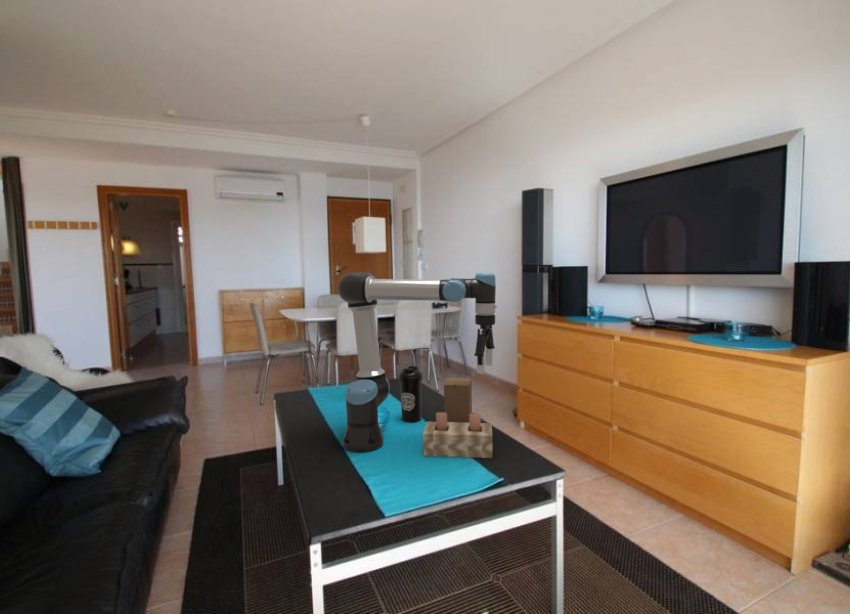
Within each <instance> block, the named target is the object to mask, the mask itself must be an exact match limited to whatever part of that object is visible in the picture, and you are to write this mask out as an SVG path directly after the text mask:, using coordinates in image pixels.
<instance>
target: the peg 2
mask: <svg viewBox="0 0 850 614" xmlns="http://www.w3.org/2000/svg"><path fill="white" fill-rule="evenodd" d="M481 420H482V419H481V413H478V412H472V413H471V414H469V431H476V432H481V423H482V421H481Z"/></svg>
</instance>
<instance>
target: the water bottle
mask: <svg viewBox="0 0 850 614" xmlns="http://www.w3.org/2000/svg"><path fill="white" fill-rule="evenodd" d="M398 379H399V388H400V389H399V391H400V393H399V394H400V408H401V409H400V410H401V421H402V420H403V421H402V422H404V421H405V422H404V423H407V422H409V423H408V424H414V423H413V422H415V423H418V421H419V422H421V420H422V395H423V394H422V387H423V386H422V381H423V373H422V372H421V371H420V370H419V367H418V366H416V365H415V366H413V365H409V366H408V367H407V368H402V370H401V371H400V373H399V374H398ZM410 422H411V423H410Z"/></svg>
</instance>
